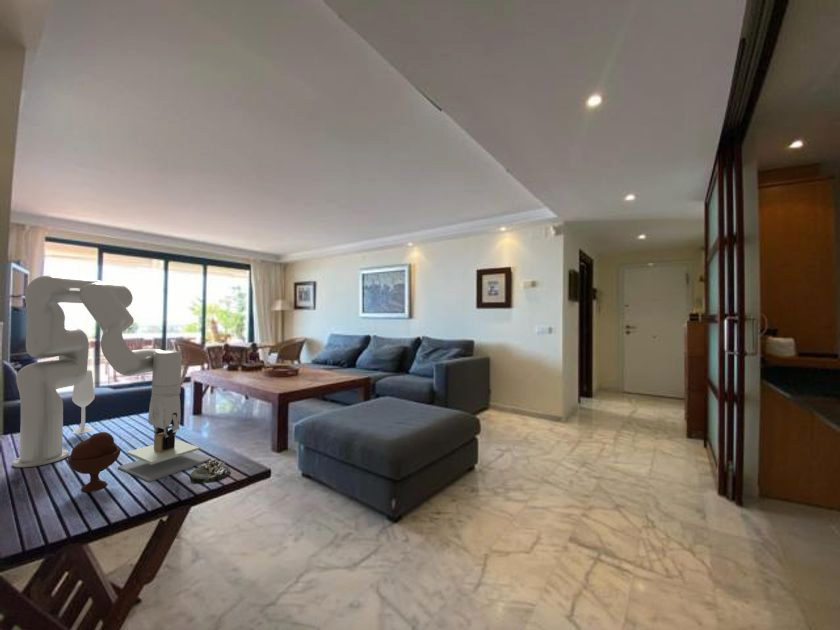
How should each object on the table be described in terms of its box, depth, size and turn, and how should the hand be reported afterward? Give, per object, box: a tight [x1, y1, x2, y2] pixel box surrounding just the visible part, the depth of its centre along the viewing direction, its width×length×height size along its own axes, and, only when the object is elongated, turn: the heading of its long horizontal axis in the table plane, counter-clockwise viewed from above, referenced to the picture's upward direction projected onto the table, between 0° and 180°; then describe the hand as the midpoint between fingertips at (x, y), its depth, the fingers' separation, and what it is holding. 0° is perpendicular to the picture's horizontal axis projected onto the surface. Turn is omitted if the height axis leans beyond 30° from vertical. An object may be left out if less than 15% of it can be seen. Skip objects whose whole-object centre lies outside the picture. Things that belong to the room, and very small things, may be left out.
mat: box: [117, 452, 212, 483], centre depth 116 cm, size 18×18×1 cm
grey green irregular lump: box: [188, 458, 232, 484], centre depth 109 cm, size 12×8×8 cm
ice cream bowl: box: [66, 431, 122, 493], centre depth 100 cm, size 11×11×15 cm
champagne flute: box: [71, 369, 96, 435], centre depth 146 cm, size 7×7×24 cm
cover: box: [126, 432, 200, 465], centre depth 116 cm, size 14×14×6 cm
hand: (164, 446), depth 116 cm, fingers closed on cover, 4 cm apart
